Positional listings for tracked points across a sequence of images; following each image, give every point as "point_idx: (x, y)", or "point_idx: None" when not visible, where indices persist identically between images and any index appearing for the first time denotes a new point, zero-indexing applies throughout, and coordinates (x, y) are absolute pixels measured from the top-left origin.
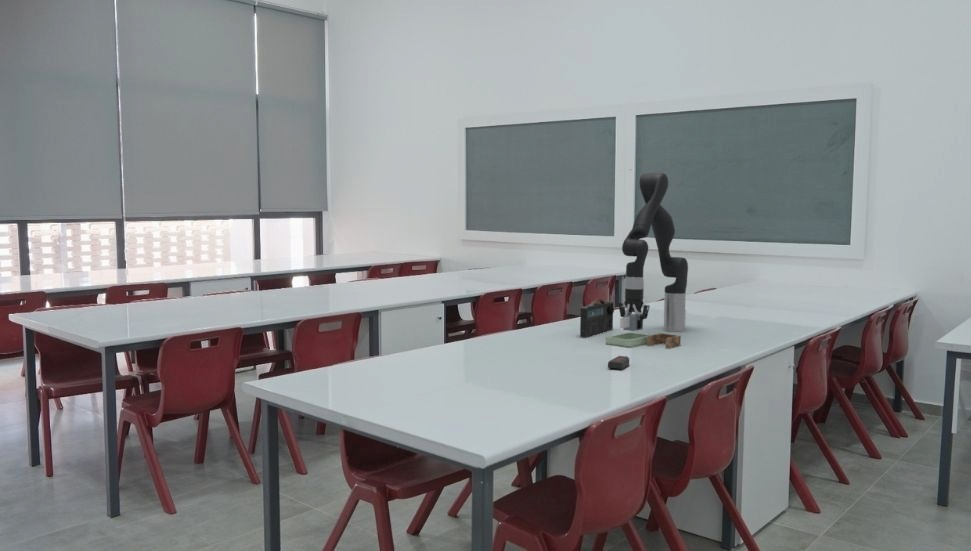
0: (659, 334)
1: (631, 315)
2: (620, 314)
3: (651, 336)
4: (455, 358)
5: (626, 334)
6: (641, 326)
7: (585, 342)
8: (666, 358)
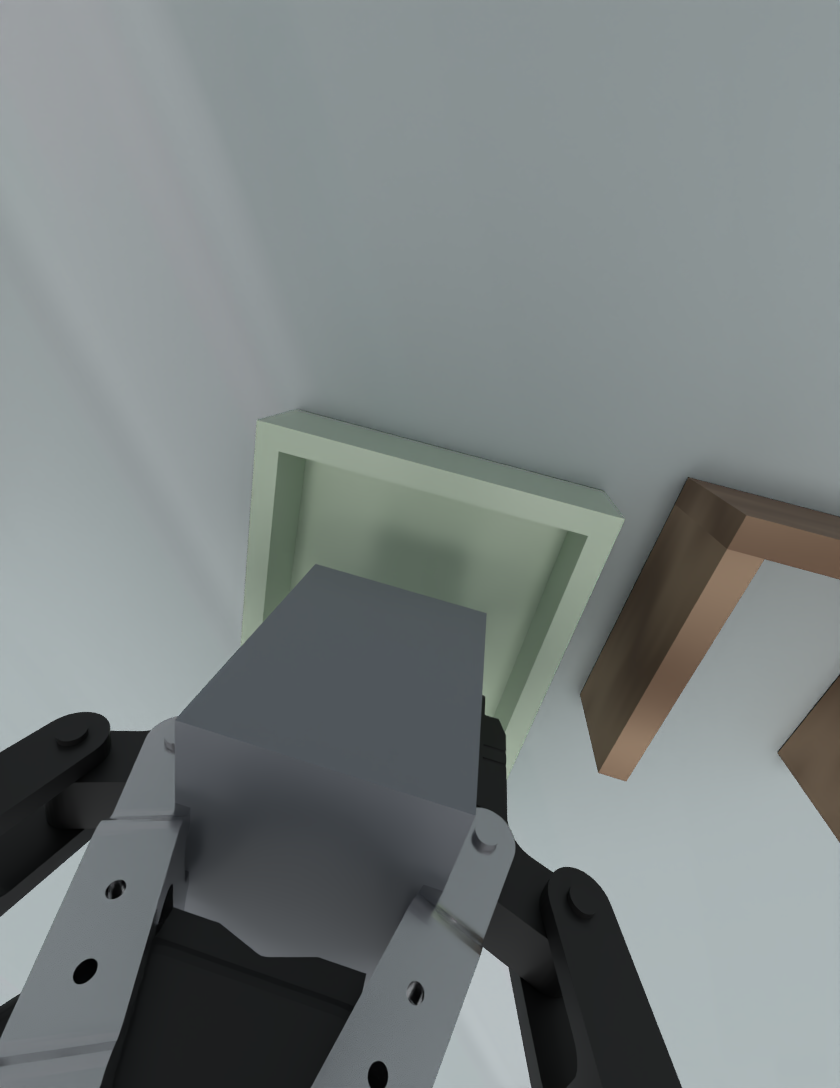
0: (740, 592)
1: (287, 929)
2: (39, 824)
3: (643, 745)
4: None
5: (277, 522)
6: (496, 750)
7: (113, 717)
8: (792, 1034)
